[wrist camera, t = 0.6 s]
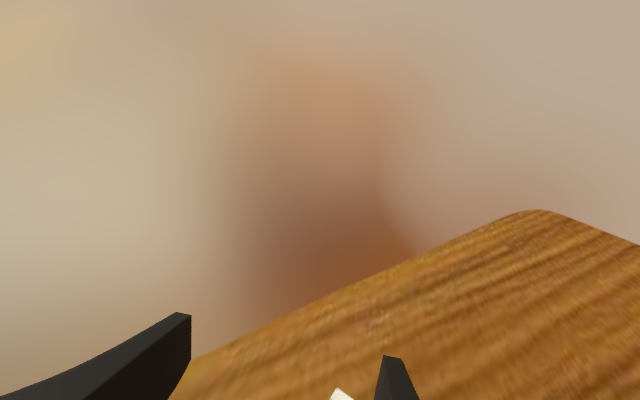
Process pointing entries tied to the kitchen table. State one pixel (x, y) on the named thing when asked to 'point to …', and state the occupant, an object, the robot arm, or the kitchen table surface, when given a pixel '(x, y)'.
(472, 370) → the kitchen table surface
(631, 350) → the kitchen table surface
